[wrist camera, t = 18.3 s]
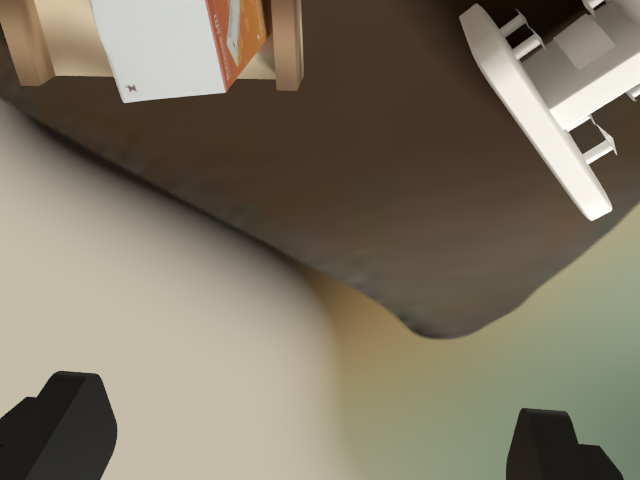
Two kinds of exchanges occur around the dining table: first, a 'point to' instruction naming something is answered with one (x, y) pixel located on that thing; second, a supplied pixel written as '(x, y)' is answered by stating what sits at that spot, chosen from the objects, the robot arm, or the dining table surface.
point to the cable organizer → (563, 85)
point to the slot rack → (90, 57)
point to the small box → (178, 44)
